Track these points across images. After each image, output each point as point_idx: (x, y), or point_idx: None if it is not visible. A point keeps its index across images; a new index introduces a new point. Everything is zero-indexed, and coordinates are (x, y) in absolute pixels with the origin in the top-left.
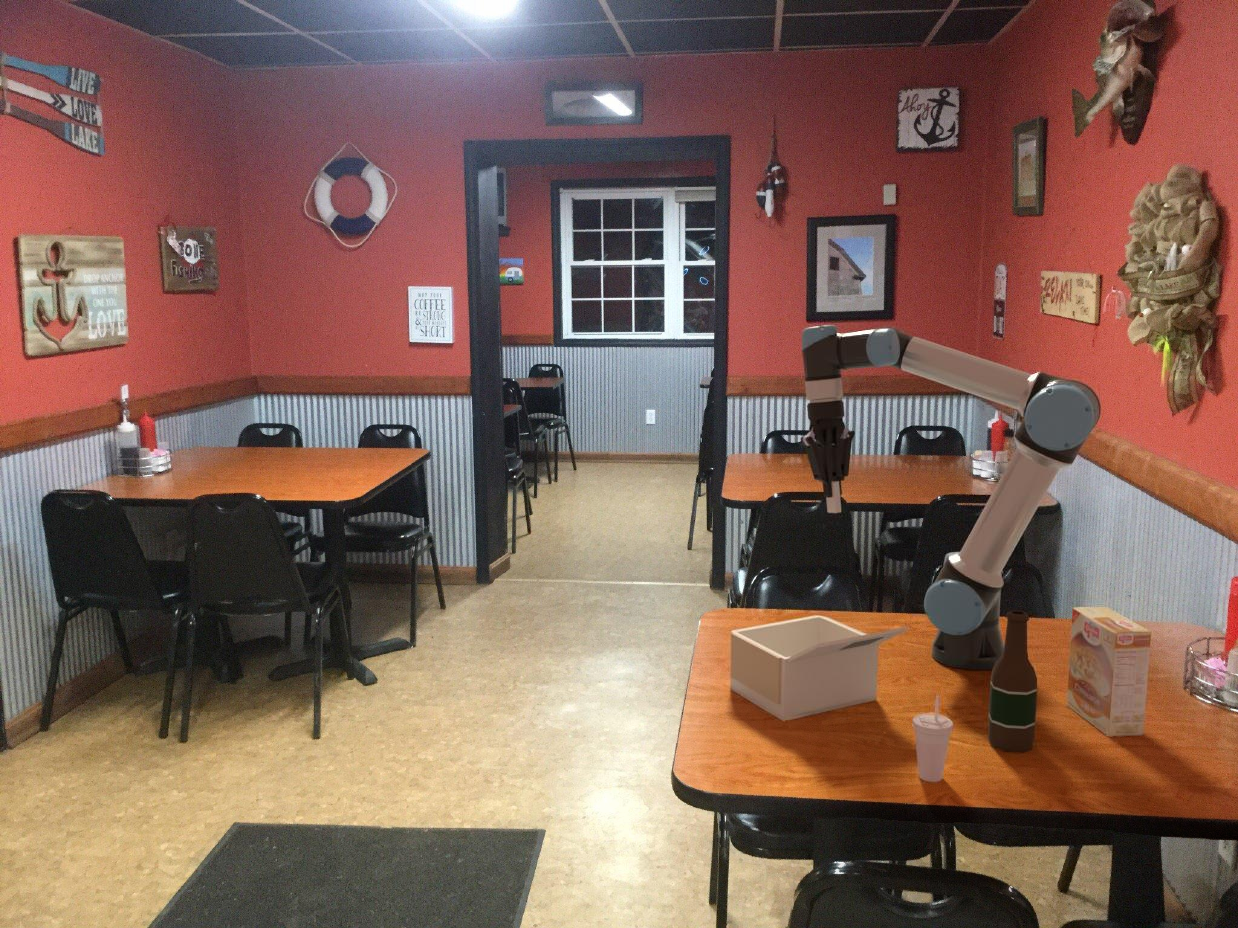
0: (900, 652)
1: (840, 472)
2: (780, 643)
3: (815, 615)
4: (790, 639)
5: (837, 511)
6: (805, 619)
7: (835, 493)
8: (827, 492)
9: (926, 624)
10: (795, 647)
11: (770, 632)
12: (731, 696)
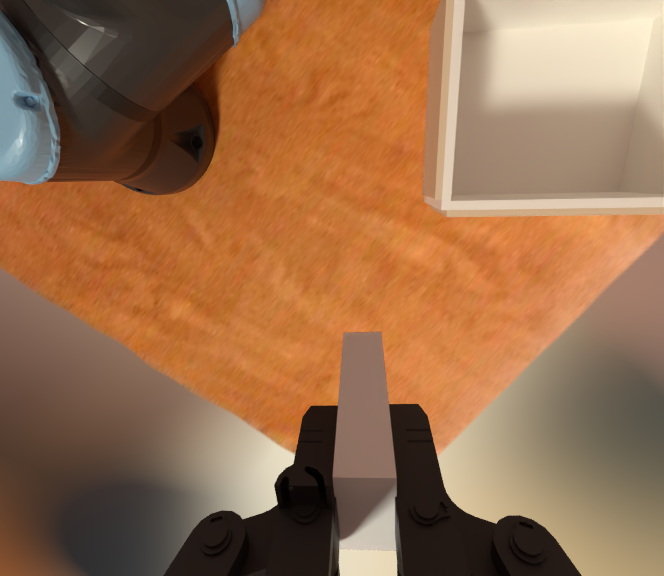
0: (244, 210)
1: (286, 563)
2: (546, 196)
3: (451, 215)
4: (521, 197)
5: (369, 335)
6: (492, 201)
7: (376, 405)
8: (430, 434)
9: (126, 297)
10: (500, 196)
11: (591, 197)
12: None
